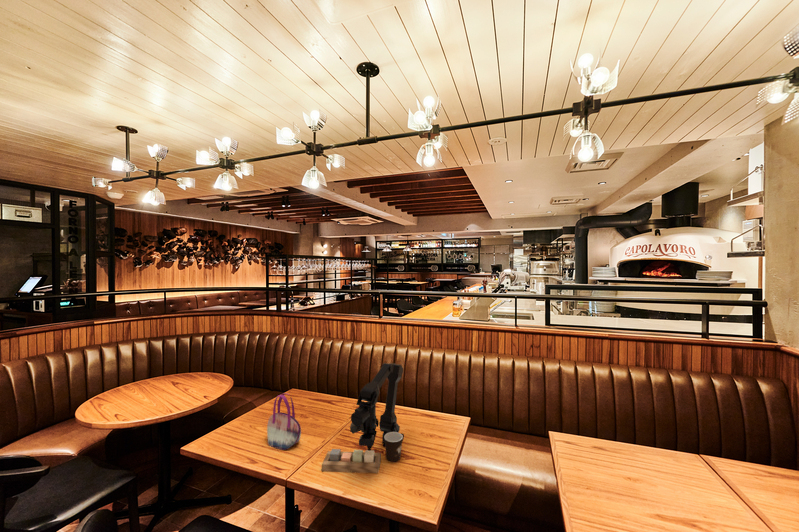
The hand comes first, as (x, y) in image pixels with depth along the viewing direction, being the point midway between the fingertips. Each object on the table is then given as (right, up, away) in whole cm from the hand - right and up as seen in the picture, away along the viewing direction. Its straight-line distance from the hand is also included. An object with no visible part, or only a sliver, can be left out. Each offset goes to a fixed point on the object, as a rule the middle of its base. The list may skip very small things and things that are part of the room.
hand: (369, 450), depth 141 cm
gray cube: (-16, -5, +1) cm, 16 cm away
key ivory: (0, -5, 0) cm, 5 cm away
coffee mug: (+12, -7, +6) cm, 15 cm away
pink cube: (-10, -7, +1) cm, 12 cm away
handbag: (-45, -7, +18) cm, 49 cm away
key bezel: (-8, -7, 0) cm, 10 cm away
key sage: (-5, -5, 0) cm, 7 cm away
